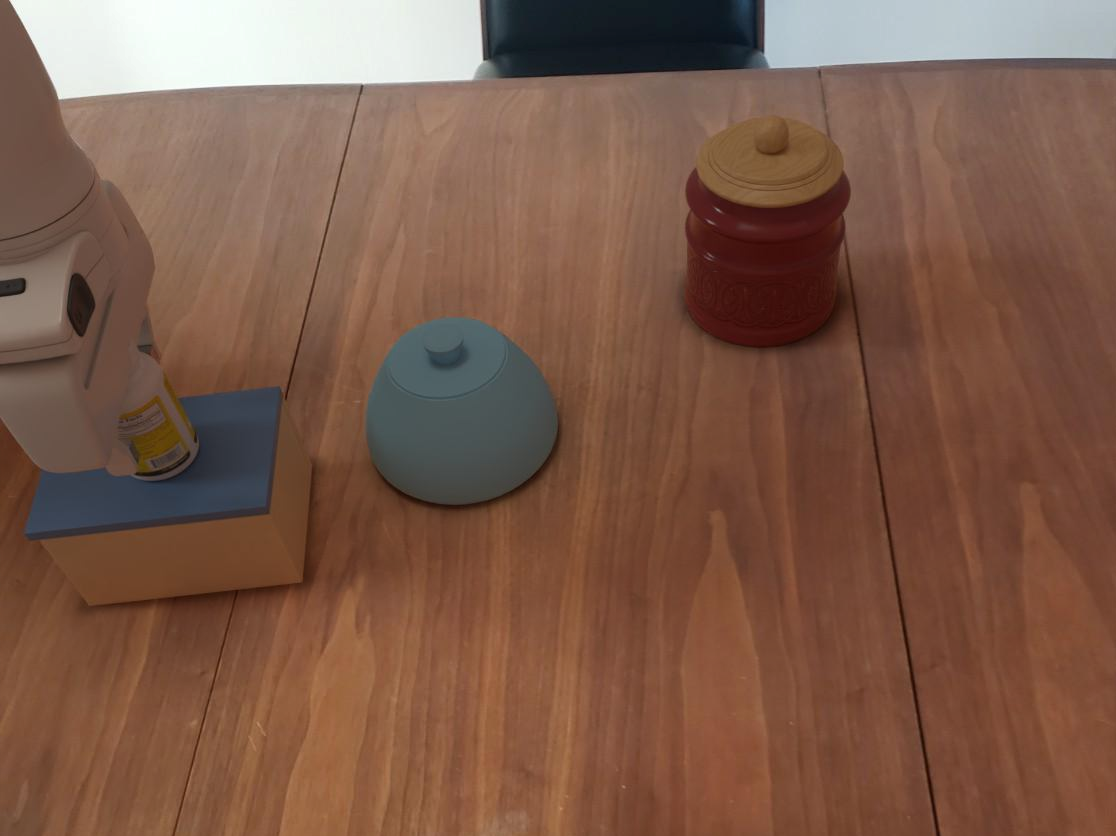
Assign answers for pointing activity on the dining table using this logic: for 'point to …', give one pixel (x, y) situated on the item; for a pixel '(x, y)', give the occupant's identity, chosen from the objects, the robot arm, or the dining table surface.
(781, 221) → the kitchen canister
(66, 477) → the chest lid
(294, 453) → the chest
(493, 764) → the dining table surface
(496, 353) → the sugar bowl
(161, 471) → the supplement bottle
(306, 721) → the dining table surface
